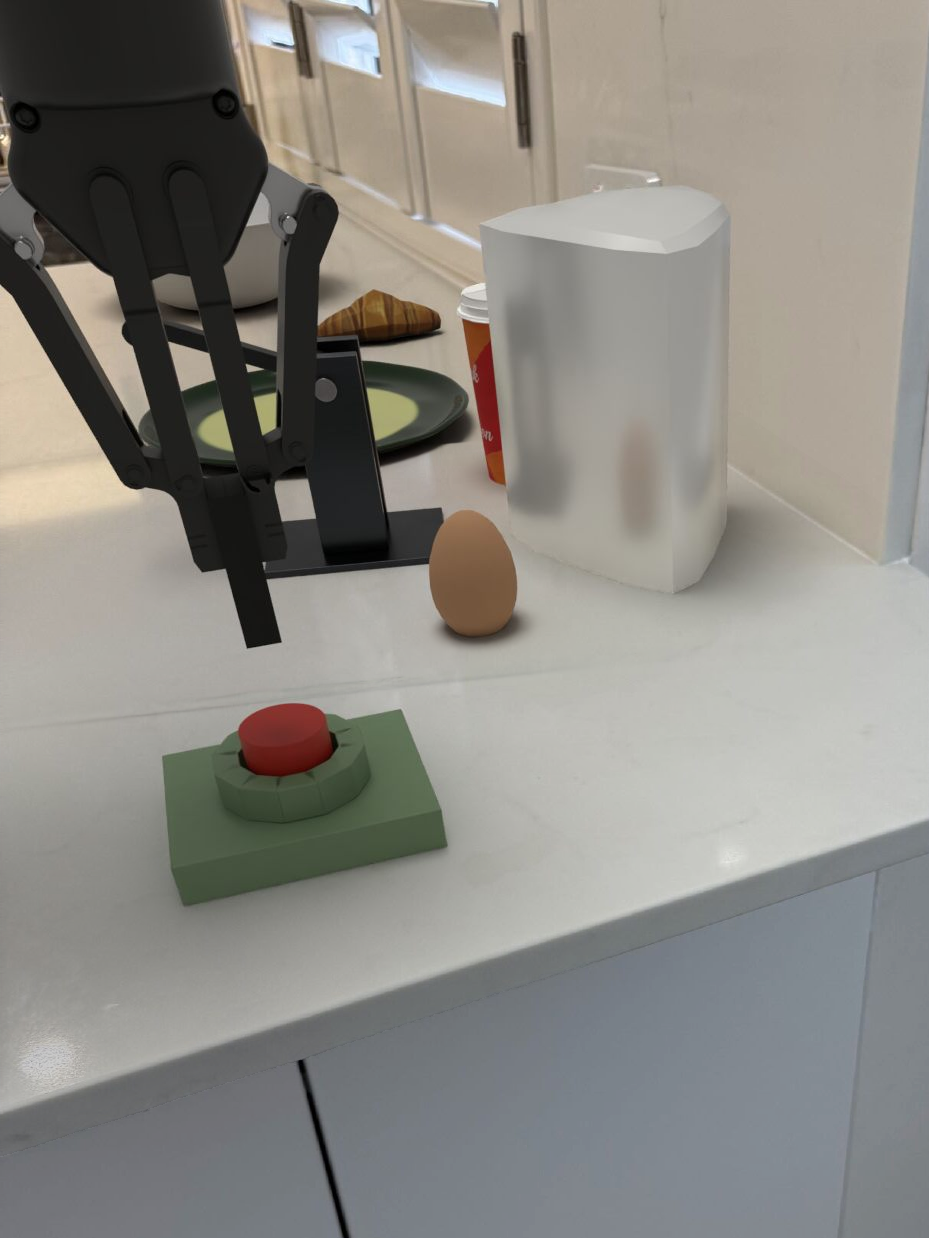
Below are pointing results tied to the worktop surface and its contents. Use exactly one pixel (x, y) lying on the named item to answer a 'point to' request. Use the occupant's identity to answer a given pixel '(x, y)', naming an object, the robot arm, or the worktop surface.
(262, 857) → the control block
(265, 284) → the bowl
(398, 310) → the croissant
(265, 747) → the button
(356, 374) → the bracket
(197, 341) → the lever
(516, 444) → the frosted triangular prism
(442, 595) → the egg
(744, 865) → the worktop surface
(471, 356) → the paper cup
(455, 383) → the plate
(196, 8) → the robot arm
